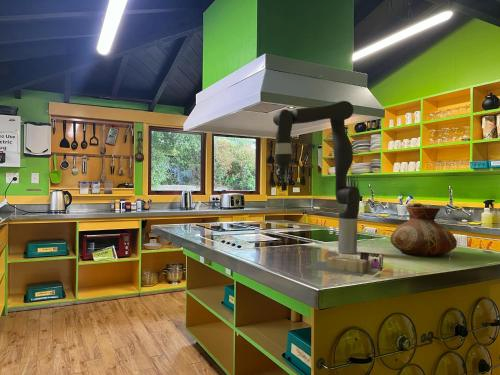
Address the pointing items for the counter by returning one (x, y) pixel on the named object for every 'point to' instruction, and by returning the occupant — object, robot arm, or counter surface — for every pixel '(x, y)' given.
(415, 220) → the brown clay pot
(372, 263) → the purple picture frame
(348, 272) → the rubber mat
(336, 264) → the beech block
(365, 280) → the counter surface
